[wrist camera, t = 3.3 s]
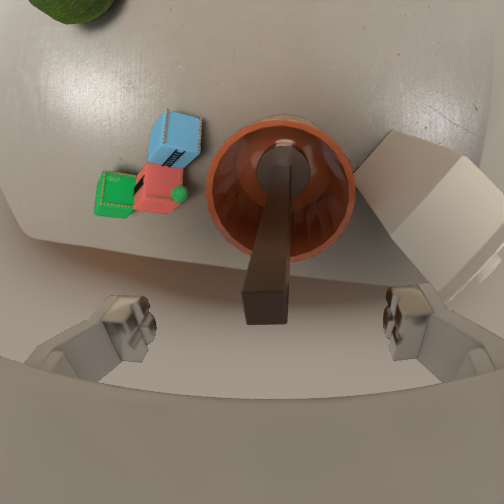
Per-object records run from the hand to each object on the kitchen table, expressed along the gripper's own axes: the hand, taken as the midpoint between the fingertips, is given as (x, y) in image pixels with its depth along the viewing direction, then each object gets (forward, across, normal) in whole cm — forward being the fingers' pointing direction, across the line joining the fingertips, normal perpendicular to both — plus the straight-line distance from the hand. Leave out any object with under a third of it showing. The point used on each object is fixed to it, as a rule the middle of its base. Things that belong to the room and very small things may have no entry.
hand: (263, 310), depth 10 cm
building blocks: (+24, +14, -2) cm, 28 cm away
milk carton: (+24, -12, +2) cm, 27 cm away
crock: (+24, 0, 0) cm, 24 cm away
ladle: (+23, 0, 0) cm, 23 cm away
